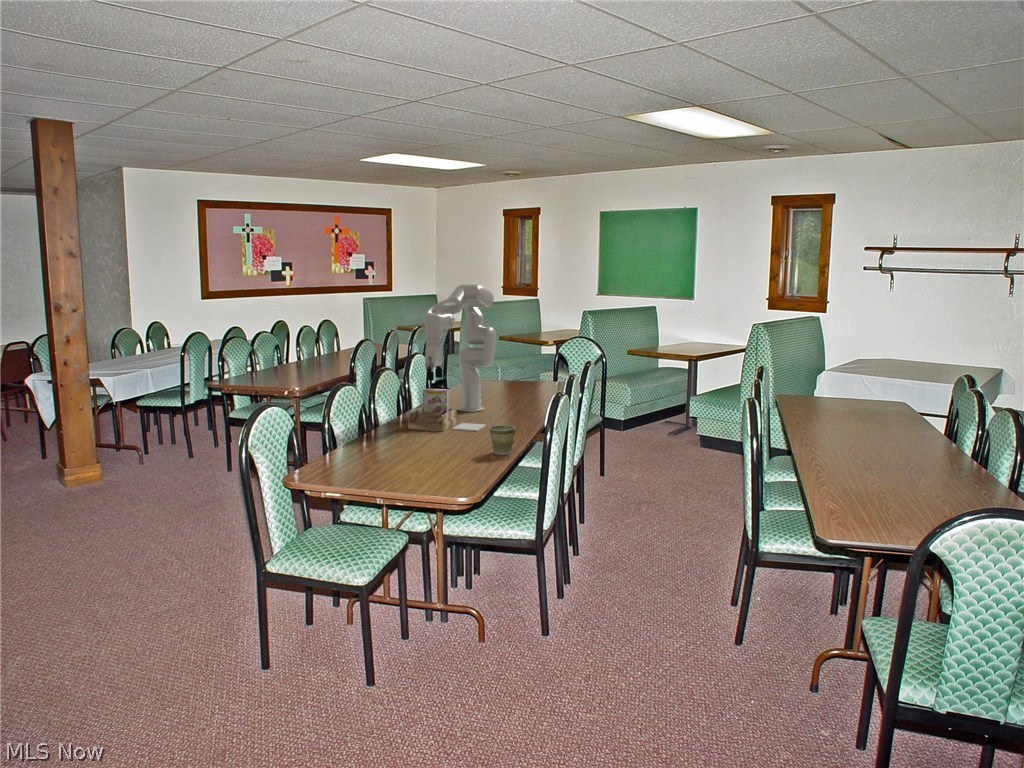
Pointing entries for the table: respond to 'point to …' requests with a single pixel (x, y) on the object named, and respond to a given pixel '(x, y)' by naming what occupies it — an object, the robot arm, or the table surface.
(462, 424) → the mat
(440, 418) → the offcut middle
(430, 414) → the offcut top
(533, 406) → the table surface
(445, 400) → the candy bar box
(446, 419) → the rack
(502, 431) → the ceramic cup
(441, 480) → the table surface
